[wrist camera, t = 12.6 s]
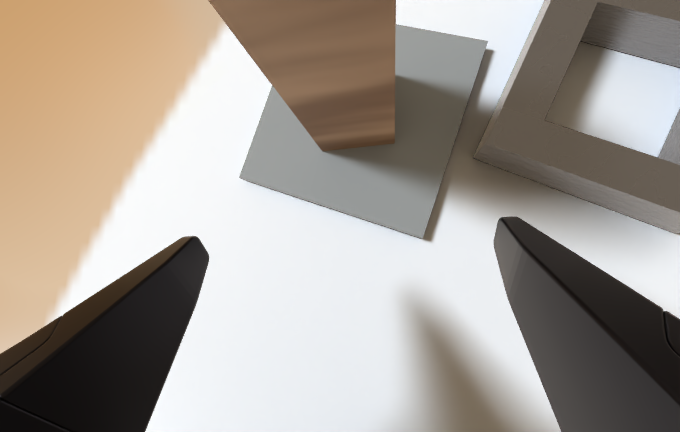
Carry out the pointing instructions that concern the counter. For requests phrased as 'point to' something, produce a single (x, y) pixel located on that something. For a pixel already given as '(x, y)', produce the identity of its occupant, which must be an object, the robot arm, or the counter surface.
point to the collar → (575, 147)
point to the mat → (381, 160)
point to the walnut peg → (325, 63)
